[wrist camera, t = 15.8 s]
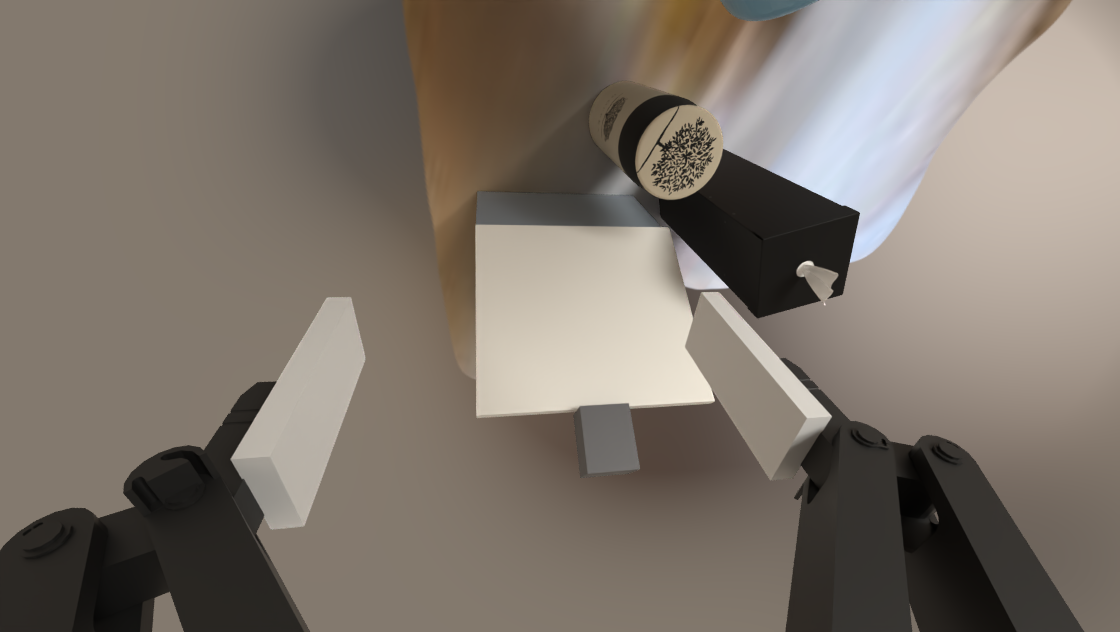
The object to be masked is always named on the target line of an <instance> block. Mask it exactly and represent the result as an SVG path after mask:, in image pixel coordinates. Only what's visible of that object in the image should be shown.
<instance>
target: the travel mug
mask: <svg viewBox="0 0 1120 632" xmlns="http://www.w3.org/2000/svg"><path fill="white" fill-rule="evenodd" d="M589 129H590V133H591V136H592V139H593V140H594V142H595V144H596V145H597V146H598V147H599V148H600V149H601V150H602V151H603V152H604V153H605V154H606V155H607V156H608V157H609V158H610V159H611V160H612V161H613V162H614V163H615V164H616V165H617V166H618V167H619V168H620V169H621V170H622V171H623V172H624V173H625V174H626V175H627V176H628V177H629V178H630V179H631V180H632V181H633V182H635V183H636V184H637V185H638V186H640V187H641V188H644V189H646V190H647V191H648V192H649V193H650V194H652V195H654V196H656V197H658V198H661V199H666V200H675V199H681V198H684V197H687V196H689V195H691V194H693V193H695V192H696V191H698V190H699V189H701V188H702V187H703V186H704V185H705V184H706V183H707V182H708V181H709V180H710V178H711V177H712V176H713V174H714V173H715V171H716V169H717V167H718V165H719V162H720V159H721V156H722V151H723V136H722V131H721V128H720V126H719V123H718V122H717V120H716V119H715V117H714V116H713V115H712V114H711V113H710V112H708V111H707V110H705V109H703V108H701V107H698V106H697V105H696V104H694V103H693V102H691V101H690V100H687V99H685V98H682V97H679V96H675V95H672V94H669V93H666V92H663V91H660V90H657V89H654V88H650V87H647V86H644V85H641V84H638V83H635V82H631V81H620V82H616V83H614V84H611V85H610V86H608V87H606V88H605V89H604V90H603V91H602V92H601V93H600V94H599V95H598V96H597V98H596V99H595V101H594V103H593V105H592V108H591V111H590V116H589Z"/></svg>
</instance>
